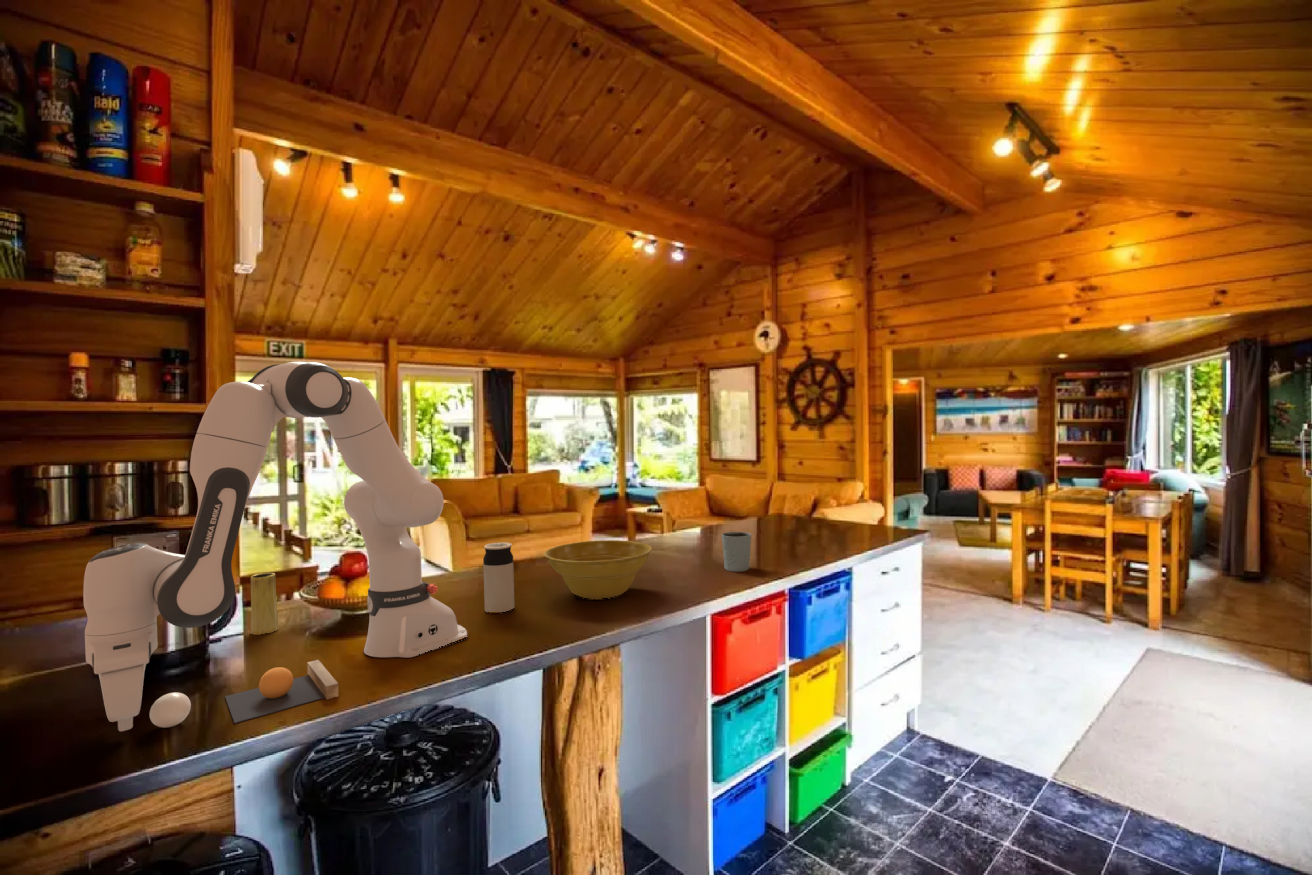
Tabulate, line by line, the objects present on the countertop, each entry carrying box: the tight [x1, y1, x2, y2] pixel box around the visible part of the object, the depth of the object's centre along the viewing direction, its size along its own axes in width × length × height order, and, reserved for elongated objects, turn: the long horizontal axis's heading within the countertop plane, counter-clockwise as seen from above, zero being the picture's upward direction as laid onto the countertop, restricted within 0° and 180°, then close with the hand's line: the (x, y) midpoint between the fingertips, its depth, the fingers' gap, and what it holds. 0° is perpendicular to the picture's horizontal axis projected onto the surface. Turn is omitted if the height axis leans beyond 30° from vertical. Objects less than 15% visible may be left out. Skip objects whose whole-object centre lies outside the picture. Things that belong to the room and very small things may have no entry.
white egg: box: [149, 692, 192, 729], centre depth 102 cm, size 6×6×6 cm
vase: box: [250, 572, 280, 636], centre depth 151 cm, size 6×6×14 cm
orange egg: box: [258, 666, 294, 699], centre depth 112 cm, size 6×6×6 cm
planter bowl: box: [543, 539, 653, 600], centre depth 178 cm, size 32×32×13 cm
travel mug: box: [482, 542, 515, 613], centre depth 164 cm, size 8×8×18 cm
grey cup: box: [721, 531, 752, 573], centre depth 206 cm, size 10×10×12 cm
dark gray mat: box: [224, 674, 326, 725], centre depth 112 cm, size 14×14×1 cm
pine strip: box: [306, 659, 339, 701], centre depth 117 cm, size 2×16×2 cm, turn 41°
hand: (125, 727), depth 98 cm, fingers closed
